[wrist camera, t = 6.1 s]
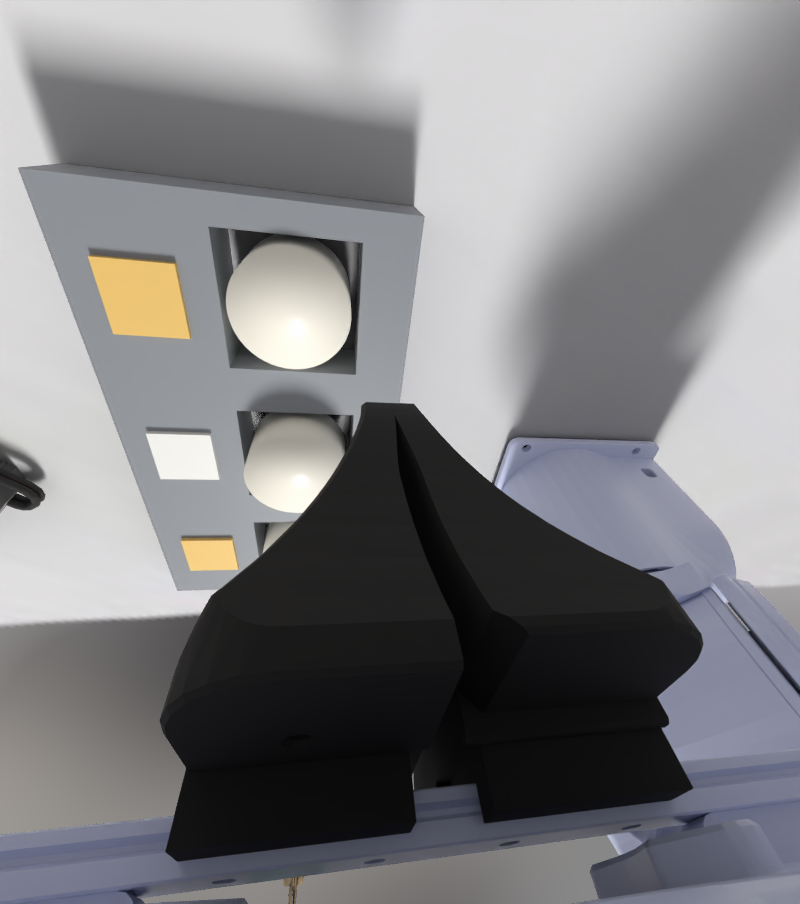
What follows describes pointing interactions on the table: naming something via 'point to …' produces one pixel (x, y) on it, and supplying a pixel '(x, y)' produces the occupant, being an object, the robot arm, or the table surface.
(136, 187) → the button board
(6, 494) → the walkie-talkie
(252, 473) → the button middle
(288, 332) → the button end
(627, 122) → the table surface
